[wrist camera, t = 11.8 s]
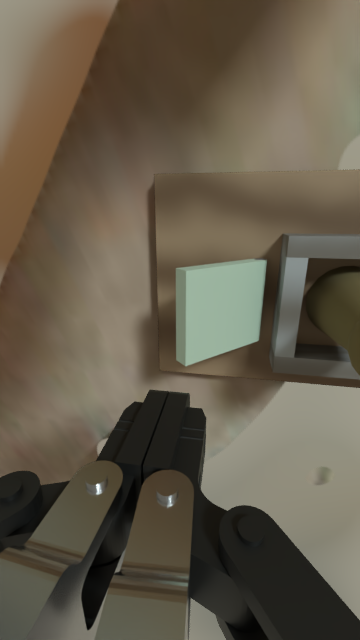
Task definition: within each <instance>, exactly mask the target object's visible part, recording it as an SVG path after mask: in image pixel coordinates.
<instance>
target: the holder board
mask: <svg viewBox="0 0 360 640" xmlns="http://www.w3.org/2000/svg"><path fill="white" fill-rule="evenodd" d="M154 181H155V218H156V256H157V293H158V330H159V367H160V370H161V371H172V372H184V373H195V374H207V375H218V376H230V377H241V378H253V379H264V380H275V381H287V382H299V383H310V384H321V385H333V386H344V387H356V388H360V376H359V375H358V373H357V372H356V371H355V369H354V368H353V367H352V365H351V361H350V358H349V354H348V351H347V350H346V349H345V348H343V347H342V346H341V345H339V344H338V343H337V342H335V341H334V340H333V339H331V338H330V337H329V336H327V335H326V334H325V333H324V332H322V331H321V330H320V329H318V328H317V327H316V326H315V325H314V324H313V323H312V321H311V320H310V319H309V317H308V314H307V310H306V298H307V295H308V293H309V290H310V288H311V286H312V285H313V284H314V283H315V281H316V280H317V279H318V278H319V277H320V276H322V275H323V274H325V273H326V272H328V271H329V270H332V269H335V268H338V267H341V266H357V267H360V170H318V171H272V172H227V173H181V174H154ZM255 258H263V259H267V266H266V276H265V286H264V296H263V306H262V316H261V326H260V336H259V341H257V342H254V343H251V344H248V345H245V346H242V347H239V348H237V349H234V350H231V351H228V352H225V353H222V354H219V355H216V356H214V357H211V358H208V359H205V360H202V361H199V362H196V363H194V364H191V365H188V366H184V365H183V364H181V363H180V362H178V361H177V360H176V268H182V267H190V266H198V265H206V264H214V263H222V262H230V261H239V260H247V259H255Z"/></svg>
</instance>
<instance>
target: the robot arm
mask: <svg viewBox="0 0 360 640" xmlns="http://www.w3.org/2000/svg"><path fill="white" fill-rule="evenodd" d="M205 440H206V417H205V415H204V412H203V410H202V409H201V408H191V407H190V394H189V393H180V392H169V391H158V390H149V392H148V394H147V396H146V398H145V400H144V402H143V403H142V402H134V403H132V404H131V405H130V406H129V407H127V408H126V409H125V410H124V412H123V413H122V415H121V417H120V419H119V422H117V424H116V426H115V428H114V430H113V431H112V433H111V435H110V437H109V438H108V440H107V442H106V444H105V446H104V447H103V449H102V451H101V453H100V454H99V456H98V458H97V460H96V461H95V462H92V463H89V464H87V465H85V466H84V467H82V468H81V469H80V470H78V471H77V472H76V474H75V475H74V476H73V478H72V479H71V480H70V481H66V482H61V483H54V484H47V485H40V481H39V478H38V476H37V475H36V474H34V473H32V472H30V471H17V472H13V473H10V474H7V475H5V476H3V477H1V478H0V640H189V628H190V607H191V598H192V599H193V600H195V601H196V602H198V603H199V604H201V605H202V606H204V607H205V608H207V609H208V610H210V611H211V612H213V613H214V614H215V615H216V618H217V621H218V624H219V626H220V628H221V630H222V632H223V634H224V636H225V638H226V640H360V620H359V619H358V618H357V617H356V616H355V615H354V613H353V612H352V611H351V610H350V609H349V608H348V606H347V605H346V604H345V603H344V602H343V601H342V599H340V597H339V596H338V595H337V594H336V592H335V591H334V590H333V589H332V588H331V587H330V585H329V584H328V583H327V582H326V581H325V580H324V579H323V577H322V576H321V575H320V574H319V573H318V571H317V570H316V569H315V568H314V567H313V566H312V564H311V563H310V562H309V561H308V560H307V559H306V557H305V556H304V555H303V554H302V553H301V552H300V551H299V549H298V548H297V547H296V546H295V545H294V543H293V542H292V541H291V540H290V539H289V538H288V536H287V535H286V534H285V533H284V532H283V531H282V529H281V528H280V527H279V526H278V525H277V524H276V523H275V521H274V520H273V519H272V518H271V517H270V516H269V515H268V514H266V513H265V512H264V511H262V510H260V509H258V508H255V507H252V506H245V505H244V506H237V507H234V508H231V509H230V510H228V511H226V510H224V509H222V508H220V507H218V506H216V505H215V504H213V503H212V502H210V501H209V500H208V499H207V498H206V497H205V496H204V494H203V493H202V491H201V481H202V473H203V464H204V457H205Z"/></svg>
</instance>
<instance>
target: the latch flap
mask: <svg viewBox="0 0 360 640" xmlns="http://www.w3.org/2000/svg"><path fill="white" fill-rule="evenodd" d="M266 266H267V259H263V258H255V259H247V260H239V261H230V262H222V263H214V264H206V265H198V266H190V267H182V268H176V360H177V361H178V362H180V363H181V364H183V365H184V366H188V365H191V364H194V363H196V362H199V361H202V360H205V359H208V358H211V357H214V356H216V355H219V354H222V353H225V352H228V351H231V350H234V349H237V348H239V347H242V346H245V345H248V344H251V343H254V342H257V341H259V336H260V326H261V316H262V306H263V296H264V286H265V276H266Z"/></svg>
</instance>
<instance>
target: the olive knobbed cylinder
mask: <svg viewBox="0 0 360 640" xmlns="http://www.w3.org/2000/svg"><path fill="white" fill-rule="evenodd" d="M306 310H307V314H308V317H309V319H310V320H311V321H312V323H313V324H314V325H315V326H316V327H317V328H318V329H320V330H321V331H322V332H324V333H325V334H326V335H327V336H329V337H330V338H331V339H333V340H334V341H335V342H337V343H338V344H339V345H341V346H342V347H343V348H345V349H346V350H347V351H348V354H349V358H350V361H351V365H352V367H353V368H354V369H355V371H356V372H357V373H358V375H359V376H360V267H357V266H341V267H338V268H335V269H332V270H329V271H328V272H326V273H325V274H323V275H322V276H320V277H319V278H318V279H317V280H316V281H315V283H314V284H313V285H312V286H311V288H310V290H309V293H308V295H307V298H306Z"/></svg>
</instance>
